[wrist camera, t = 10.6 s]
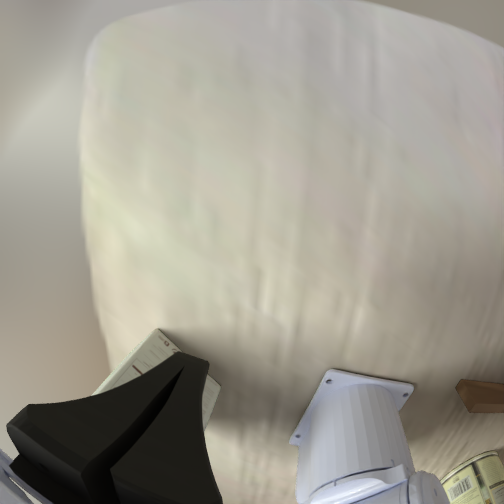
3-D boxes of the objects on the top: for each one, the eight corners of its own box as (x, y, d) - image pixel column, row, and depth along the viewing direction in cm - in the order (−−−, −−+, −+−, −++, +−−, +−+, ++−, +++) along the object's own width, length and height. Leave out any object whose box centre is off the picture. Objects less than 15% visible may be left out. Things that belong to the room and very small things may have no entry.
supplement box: (175, 416, 25) (120, 518, 12) (117, 364, 24) (37, 454, 12) (225, 386, 22) (175, 516, 10) (158, 324, 22) (60, 434, 10)
